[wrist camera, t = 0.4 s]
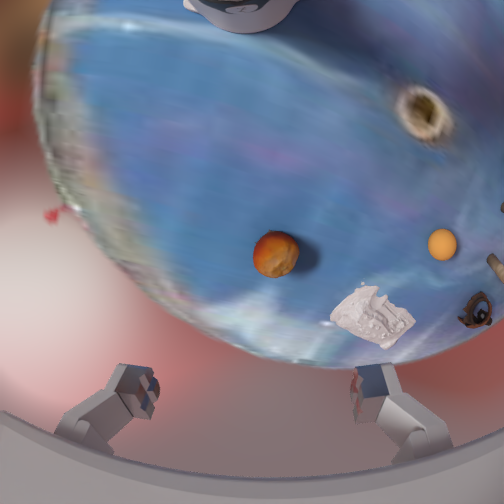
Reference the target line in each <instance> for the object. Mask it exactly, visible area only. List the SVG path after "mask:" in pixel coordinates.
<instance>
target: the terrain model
mask: <svg viewBox="0 0 504 504" xmlns="http://www.w3.org/2000/svg"><path fill="white" fill-rule="evenodd" d="M361 282H362V281H361ZM361 285H364V282H363V283H361ZM378 290H379V287H377V286H367V285H366V286H364V287H362V288H358V289H355V292H354V293H353V294H352V295H349V296H348V297H347V298H346V299H344V300H343V301H342V302H341V303H340V304H339V305H338V306H337V307H336V308H335V309H334V310H333V312H332V314H330V316H331V317H330V320H331V321H335V322H337V323H336V324H337V325H339V326H340V327H342V328H344V329H347V330H349V331H350V332H351V333H353V334H354V335H356V336H358V337H361V338H363V339H365V340H368V341H371V342H375V343H377V344H380V347H382V348H383V349H385V350H387V349H389V348H390V347H392V346H393V345H394V344H395V343H396V341H397V340H398V338H399V337H400V336H401V335H403V334H404V333H405V332H406V331H407V330H408V329H410V328H411V327H412V326H413V325H414V323H415V322H416V320H414V318H413V317H412V316H411V314H409V313H408V312H407V310H406V309H403V308H396V307H395V305H394V304H391V303H390V302H389V301H388V300H387V299H388V296H387V295H385V296H383V297H377V296H376V293H377V291H378Z"/></svg>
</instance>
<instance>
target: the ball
mask: <svg viewBox="0 0 504 504" xmlns="http://www.w3.org/2000/svg"><path fill="white" fill-rule="evenodd" d="M456 247H457V242H456V239H455V236H454V235H453V234H452V233H451V232H450V231H449V230H446V229H438V230H436V231H434V232H433V233H432V234H431V236H430V237H429V241H428V249H429V252H430V254H431V255H432V256H433V257H434V258H435V259H437V260H441V261H444V260H448V259H450V258H451V257H452V256H453V255H454V253H455V251H456Z"/></svg>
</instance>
